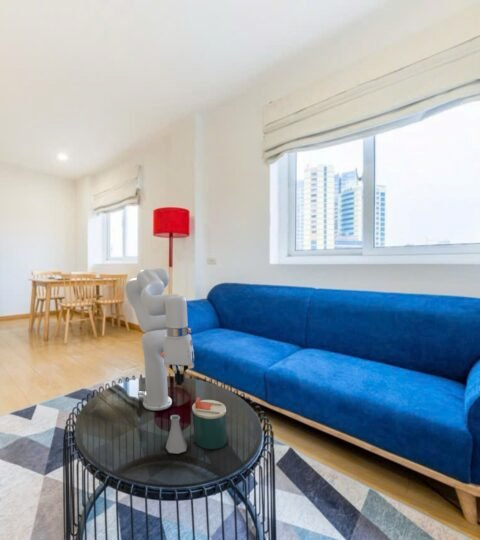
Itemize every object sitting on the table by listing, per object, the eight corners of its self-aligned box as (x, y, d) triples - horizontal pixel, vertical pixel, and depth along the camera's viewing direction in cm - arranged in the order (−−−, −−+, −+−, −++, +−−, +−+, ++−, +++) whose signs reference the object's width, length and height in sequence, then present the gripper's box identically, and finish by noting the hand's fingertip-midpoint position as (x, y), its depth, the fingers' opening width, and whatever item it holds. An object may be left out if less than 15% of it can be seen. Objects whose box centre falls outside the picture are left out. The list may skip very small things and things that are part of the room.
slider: (195, 408, 97) (195, 402, 97) (198, 403, 101) (197, 396, 101) (209, 410, 96) (209, 404, 96) (211, 404, 100) (211, 398, 100)
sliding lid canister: (190, 446, 95) (188, 412, 94) (197, 427, 105) (195, 396, 105) (225, 452, 91) (223, 416, 91) (229, 431, 102) (227, 400, 101)
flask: (164, 441, 98) (163, 412, 98) (185, 439, 98) (184, 410, 98) (166, 455, 91) (165, 424, 90) (189, 453, 91) (188, 422, 91)
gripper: (200, 329, 102) (203, 381, 102) (160, 328, 107) (163, 378, 107) (196, 334, 95) (198, 390, 95) (153, 333, 100) (156, 386, 100)
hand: (179, 383), depth 101 cm, fingers closed
